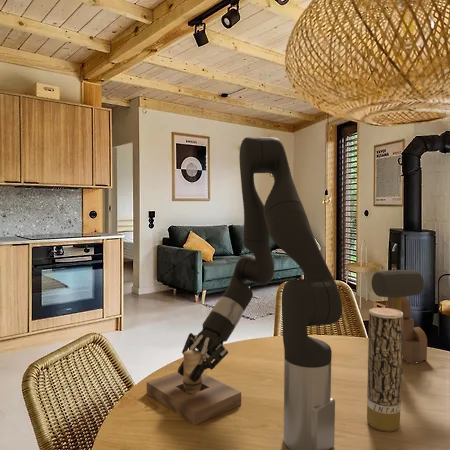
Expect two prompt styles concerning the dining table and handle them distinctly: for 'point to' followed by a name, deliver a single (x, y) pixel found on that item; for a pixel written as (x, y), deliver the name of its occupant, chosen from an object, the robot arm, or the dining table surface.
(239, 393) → the board
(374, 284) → the rubber mallet
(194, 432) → the dining table surface
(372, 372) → the paper tube
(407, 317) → the wooden toy
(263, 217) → the robot arm
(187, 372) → the peg
